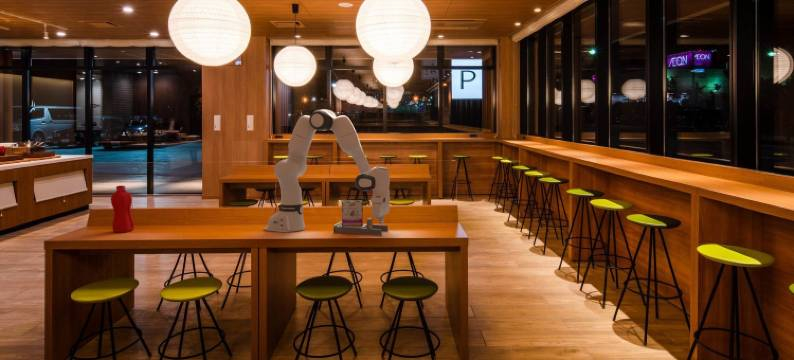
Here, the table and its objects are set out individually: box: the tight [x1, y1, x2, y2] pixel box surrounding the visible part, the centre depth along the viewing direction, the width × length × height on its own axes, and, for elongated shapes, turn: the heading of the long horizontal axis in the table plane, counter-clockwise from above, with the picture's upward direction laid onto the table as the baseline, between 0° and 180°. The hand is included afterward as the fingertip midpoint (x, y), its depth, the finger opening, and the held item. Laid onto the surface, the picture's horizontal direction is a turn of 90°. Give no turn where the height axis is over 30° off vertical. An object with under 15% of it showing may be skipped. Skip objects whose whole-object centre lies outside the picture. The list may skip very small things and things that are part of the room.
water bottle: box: [110, 185, 135, 233], centre depth 286 cm, size 9×11×25 cm
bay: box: [333, 220, 389, 236], centre depth 284 cm, size 27×12×4 cm, turn 74°
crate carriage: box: [336, 217, 373, 229], centre depth 284 cm, size 18×9×7 cm, turn 74°
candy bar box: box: [341, 200, 364, 227], centre depth 285 cm, size 11×5×16 cm, turn 100°
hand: (381, 223), depth 280 cm, fingers closed
